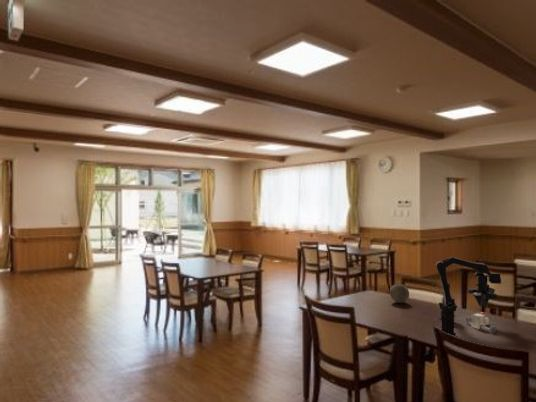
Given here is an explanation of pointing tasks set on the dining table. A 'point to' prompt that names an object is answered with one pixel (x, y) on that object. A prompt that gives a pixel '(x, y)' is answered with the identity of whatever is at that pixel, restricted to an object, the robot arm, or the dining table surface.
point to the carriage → (478, 320)
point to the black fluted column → (448, 318)
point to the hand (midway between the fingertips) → (482, 306)
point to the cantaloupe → (399, 293)
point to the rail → (491, 329)
